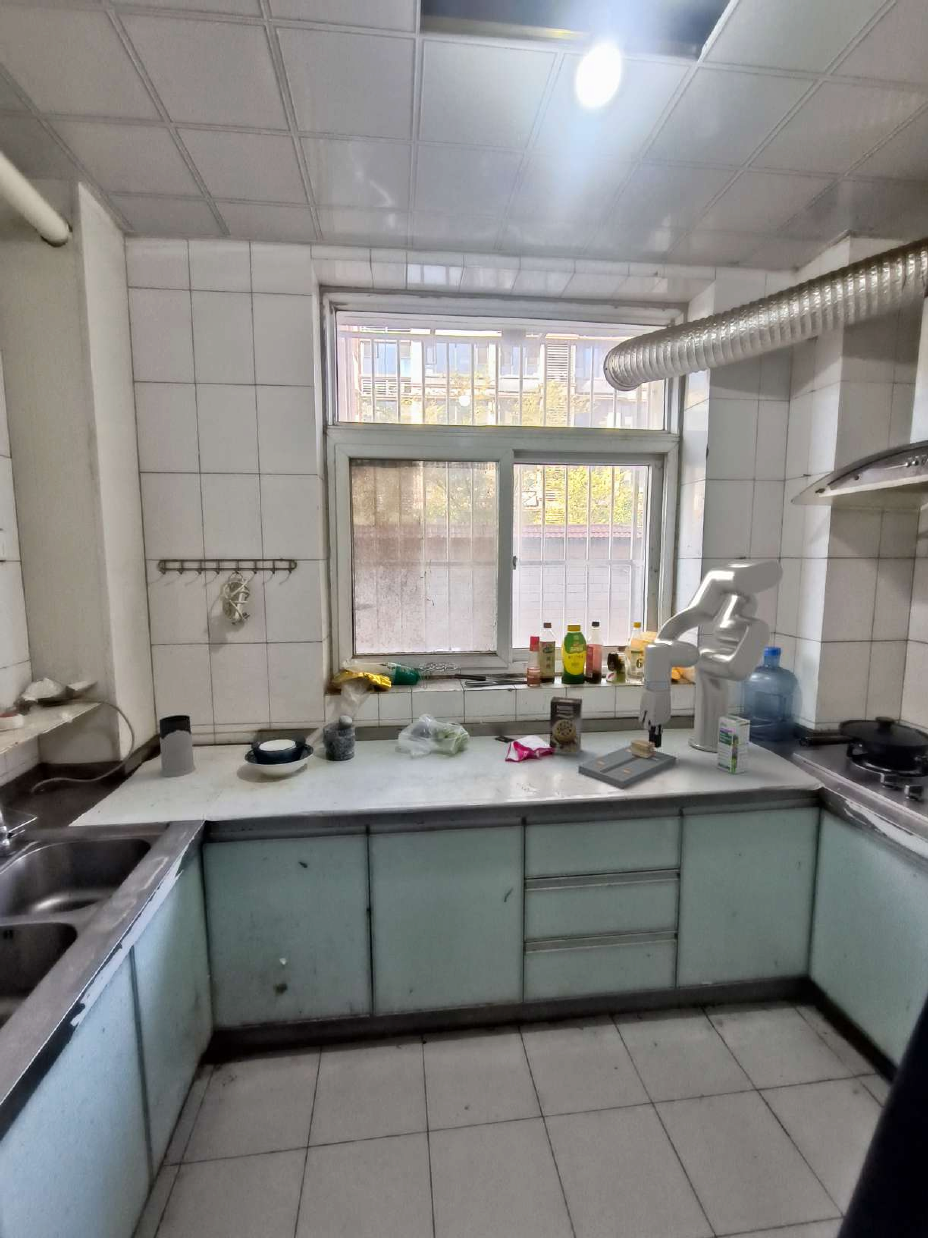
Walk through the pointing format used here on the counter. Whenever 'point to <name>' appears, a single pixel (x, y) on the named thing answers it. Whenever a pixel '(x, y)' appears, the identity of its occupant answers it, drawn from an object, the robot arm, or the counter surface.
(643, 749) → the block
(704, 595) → the robot arm
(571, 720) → the cookie box
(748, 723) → the syrup box
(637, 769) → the board
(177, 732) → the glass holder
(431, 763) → the counter surface
